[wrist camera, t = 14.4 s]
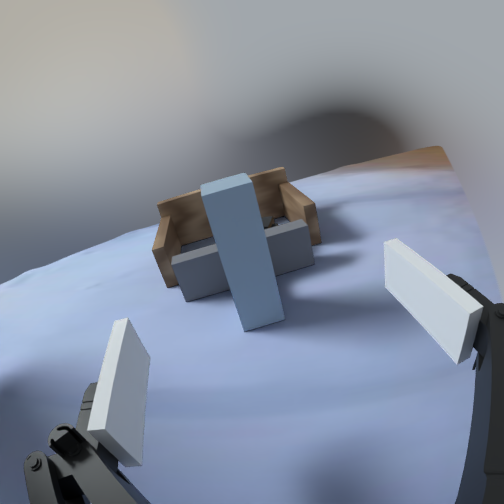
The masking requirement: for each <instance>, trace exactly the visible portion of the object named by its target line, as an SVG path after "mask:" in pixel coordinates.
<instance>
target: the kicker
mask: <svg viewBox="0 0 504 504" xmlns="http://www.w3.org/2000/svg"><path fill="white" fill-rule="evenodd" d="M201 197H202V200H203V204H204V207H205V210H206V214H207V217H208V220H209V223H210V227H211V230H212V233H213V236H214V240H215V243H216V244H213V245H209V246H206V247H203V248H199V249H196V250H192V251H189V252H186V253H182V254H179V255H176V256H172V263H171V266H172V268H173V271H174V273H175V276H176V278H177V281H178V283H179V286H180V288H181V291H182V293H183V296H184V298H185V300H186V302H188V301H191V300H195V299H198V298H202V297H205V296H209V295H212V294H216V293H219V292H223V291H226V290H231V293H232V296H233V299H234V302H235V305H236V308H237V311H238V314H239V317H240V320H241V323H242V326H243V329H244V332H245V331H248V330H252V329H255V328H258V327H262V326H265V325H269V324H272V323H275V322H278V321H282V320H285V316H284V312H283V308H282V303H281V299H280V295H279V290H278V286H277V282H276V278H275V276H277V275H281V274H284V273H287V272H291V271H294V270H297V269H300V268H304V267H307V266H310V265H313V264H314V258H313V252H312V246H311V240H310V234H309V228H308V225H307V224H306V223H305V222H304V221H303V220H302V219H300V220H296V221H293V222H289V223H286V224H282V225H279V226H275V227H272V228H268V229H265V230H264V227H263V223H262V219H261V215H260V211H259V206H258V202H257V198H256V194H255V190H254V186H253V182H252V181H251V179H250V178H249V177H248V176H247V175H246V173H242V174H238V175H235V176H231V177H227V178H223V179H220V180H216V181H213V182H210V183H206V184H203V185H201Z"/></svg>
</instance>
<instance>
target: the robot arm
mask: <svg viewBox="0 0 504 504" xmlns="http://www.w3.org/2000/svg"><path fill="white" fill-rule="evenodd" d="M384 259H385V287H386V288H387V289H388V290H389V291H390V293H391V294H392V295H393V296H394V297H395V298H396V299H397V300H398V301H399V302H400V303H401V304H402V305H403V306H404V307H405V308H406V309H407V310H408V311H409V312H410V313H411V315H412V316H413V317H414V318H415V319H416V320H417V321H418V322H419V323H420V324H421V325H422V326H423V327H424V328H425V330H426V331H427V332H428V333H429V334H430V335H431V336H432V337H433V338H434V339H435V341H436V342H437V343H438V344H439V345H440V346H441V347H442V348H443V349H444V351H445V352H446V353H447V354H448V355H449V356H450V357H451V359H452V360H453V361H454V362H455V363H456V364H457V365H458V364H459V363H461V362H463V361H465V360H466V359H468V358H470V356H471V352H472V349H473V347H474V348H475V349H476V350H477V351H478V353H477V356H476V360H475V363H474V366H473V369H472V370H475V367H476V378H475V393H474V404H473V414H472V423H471V430H470V437H469V443H468V449H467V455H466V460H465V465H464V470H463V475H462V479H461V484H460V488H459V492H458V496H457V499H456V502H455V504H504V303H497V304H493V303H492V302H491V301H490V300H488V299H487V298H486V297H485V296H484V295H482V294H481V293H480V292H479V291H477V290H476V289H474V287H472V286H471V285H470V284H469V285H468V283H467V282H466V281H465V280H463V279H462V278H461V277H458V276H456V275H453V274H449V275H445V274H443V273H442V272H441V271H439V270H438V269H437V268H436V267H434V266H433V265H432V264H430V263H429V262H428V261H426V260H425V259H424V258H422V257H421V256H420V255H418V254H417V253H416V252H414V251H413V250H412V249H410V248H409V247H408V246H406V245H405V244H404V243H402V242H401V241H399V240H398V239H397V238H395V239H392V240H389V241H386V242H384ZM149 365H150V356H149V355H148V353H147V351H146V349H145V348H144V346H143V344H142V342H141V340H140V339H139V337H138V335H137V333H136V331H135V330H134V328H133V326H132V324H131V322H130V320H129V318H124V319H120V320H116V321H115V322H114V325H113V328H112V332H111V335H110V338H109V342H108V346H107V349H106V353H105V356H104V360H103V364H102V368H101V372H100V376H99V380H98V382H97V383H91V384H90V385H89V387H88V388H87V390H86V391H85V393H84V397H83V401H82V403H83V404H82V405H81V409H80V410H81V411H80V413H79V417H78V421H77V425H76V429H75V428H74V427H73V426H72V425H71V424H67V423H63V424H60V425H58V426H56V427H55V428H54V429H53V430H52V431H51V433H50V434H49V437H48V445H49V447H50V448H51V449H52V450H54V451H55V452H56V453H57V454H54V455H51V456H46V455H45V454H44V453H43V452H42V451H34V452H32V453H31V454H29V455H28V457H27V458H26V460H25V462H24V473H25V479H26V485H27V490H28V495H29V500H30V504H90V502H91V504H151V503H150V502H149V501H148V500H147V499H146V498H145V497H144V496H143V495H142V494H141V493H140V492H139V491H138V490H137V489H136V488H135V487H134V485H133V484H132V483H131V482H130V481H129V480H128V479H127V478H126V476H125V475H124V474H123V473H122V472H121V471H120V470H119V469H118V461H119V462H120V463H122V464H123V465H124V466H125V467H134V466H142V459H143V438H144V422H145V408H146V396H147V385H148V375H149Z"/></svg>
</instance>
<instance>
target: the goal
mask: <svg viewBox="0 0 504 504" xmlns="http://www.w3.org/2000/svg"><path fill="white" fill-rule="evenodd" d="M248 177H249V178H250V179H251V181H252V182H253V186H254V190H255V194H256V198H257V202H258V206H259V211H260V215H261V217H268V216H273V217H274V219H275V218H278V217H282V216H286V217H287V219H288V220H289V221H290V222H293V221H296V220H300V219H302V220H303V221H304V222H305V223H306V224H307V225H308V228H309V234H310V240H311V246H312V245H315V244H319V243H321V236H320V230H319V224H318V218H317V212H316V206H315V203H314V202H313V201H312V200H311V199H309V198H308V197H307V196H305V195H304V194H303V193H302V192H300V191H299V190H298V189H296V188H295V187H294V186H293V185H291V184H290V183H289V182H287V177H286V173H285V169H284V168H283V167H280V168H276V169H272V170H268V171H264V172H260V173H257V174H253V175H249V176H248ZM157 206H158V209H159V212H160V215H161V221H160V224H159V227H158V231H157V234H156V238H155V241H154V245H153V248H152V252H153V254H154V257H155V259H156V262H157V264H158V267H159V269H160V272H161V274H162V277H163V279H164V281H165V284H166V286H167V288H168V287H172V286H175V285H178V281H177V278H176V276H175V273H174V271H173V268H172V266H171V263H172V256H176V255H179V254H181V246H182V245H185V244H189V243H192V242H195V241H199V240H202V239H205V238H209V237H212V236H213V233H212V230H211V227H210V223H209V220H208V217H207V214H206V210H205V207H204V204H203V200H202V197H201V189H200V190H196V191H193V192H190V193H186V194H183V195H180V196H176V197H173V198H170V199H167V200H164V201H161V202H158V204H157Z"/></svg>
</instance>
